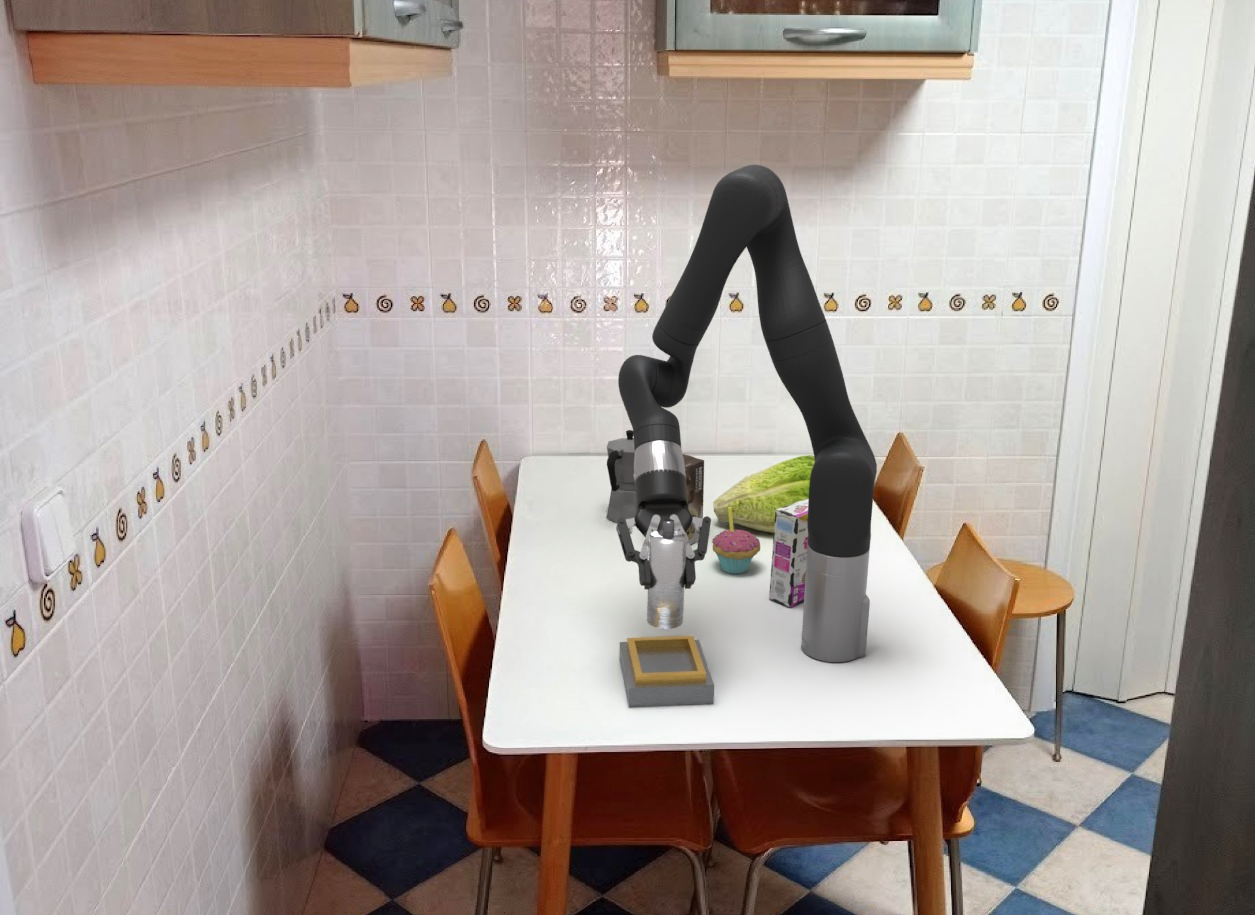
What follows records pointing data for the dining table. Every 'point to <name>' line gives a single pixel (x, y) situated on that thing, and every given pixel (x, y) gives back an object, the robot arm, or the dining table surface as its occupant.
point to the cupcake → (735, 548)
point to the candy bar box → (789, 554)
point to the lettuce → (766, 494)
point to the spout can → (666, 577)
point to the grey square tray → (665, 671)
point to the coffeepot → (621, 478)
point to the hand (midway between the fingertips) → (668, 586)
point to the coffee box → (694, 491)
